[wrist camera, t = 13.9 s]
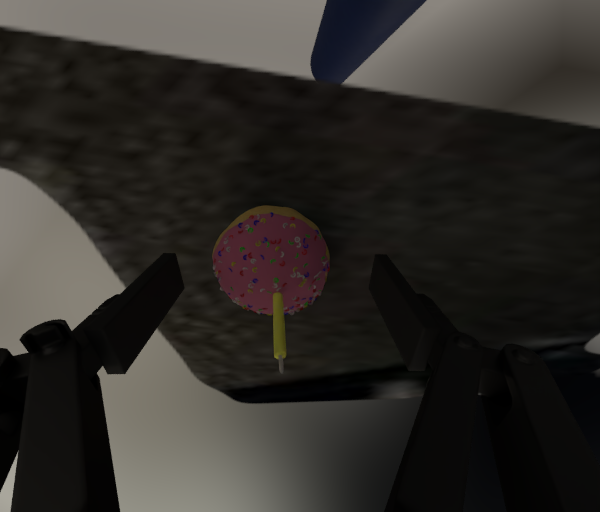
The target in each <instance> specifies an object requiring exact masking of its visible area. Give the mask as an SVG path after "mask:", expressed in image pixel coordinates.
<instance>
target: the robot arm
mask: <svg viewBox="0 0 600 512" xmlns="http://www.w3.org/2000/svg"><path fill="white" fill-rule="evenodd" d="M183 290H184V284H183V280H182V276H181V272H180V269H179V265H178V261H177V257H176V253H163V254H162V255H161V256H160V257H159V258H158V259H157V260H156V261H155V262H154V263H153V264H152V265H151V266H150V267H149V268H147V269H146V270H145V271H144V272H143V273H142V274H141V275H140V276H139V277H138V278H137V279H136V280H135V281H134V282H133V283H131V284H130V285H129V286H128V287H127V288H126V289H125V290H124V291H123V292H122V293H121V294H117V295H114V296H113V297H111V298H109V299H107V300H106V301H105V302H104V303H102V304H101V305H100V306H99V307H98V309H96V310H95V311H94V312H93V313H92V314H91V315H89V316H88V317H87V318H86V319H85V320H84V321H83V322H81V323H80V324H79V325H78V326H77V327H76V328H75V329H74V330H73V331H71V329H70V328H69V326H68V324H67V323H66V321H65V320H61V319H60V320H51V321H47V322H44V323H42V324H39V325H37V326H35V327H33V328H31V329H30V330H28V331H27V332H26V333H24V334H23V335H22V337H21V338H20V341H21V343H22V344H23V345H24V346H25V348H26V349H27V351H28V352H29V353H25V354H21V355H16V356H13V355H12V354H11V353H10V352H9V351H8V349H4V348H0V492H1V489H2V487H3V485H4V482H5V480H6V478H7V475H8V473H9V471H10V468H11V466H12V464H13V462H14V459H15V457H16V454H17V452H18V459H17V467H16V475H15V483H14V490H13V498H12V505H11V512H120V508H119V501H118V495H117V488H116V482H115V475H114V469H113V463H112V456H111V449H110V443H109V437H108V430H107V424H106V417H105V411H104V404H103V398H102V391H101V385H100V378H99V376H98V375H97V372H98V371H99V370H100V368H101V367H102V366H104V368H105V370H106V372H107V374H125V373H126V372H127V370H128V369H129V367H130V366H131V364H132V363H133V362H134V360H135V359H136V357H137V356H138V354H139V353H140V352H141V350H142V349H143V347H144V346H145V344H146V343H147V341H148V340H149V339H150V337H151V336H152V334H153V333H154V331H155V330H156V329H157V327H158V326H159V324H160V323H161V321H162V320H163V318H164V317H165V316H166V314H167V313H168V311H169V310H170V308H171V307H172V305H173V304H174V303H175V301H176V300H177V298H178V297H179V295H180V294H181V292H182V291H183ZM369 290H370V292H371V294H372V296H373V298H374V300H375V302H376V305H377V307H378V309H379V311H380V313H381V315H382V317H383V319H384V321H385V323H386V325H387V327H388V329H389V331H390V333H391V336H392V338H393V340H394V342H395V344H396V346H397V348H398V350H399V352H400V354H401V356H402V358H403V360H404V362H405V364H406V367H407V369H408V371H425V368H426V366H427V363H429V364H430V366H431V368H432V372H431V375H430V377H429V379H428V382H427V384H426V385H427V387H426V390H425V392H424V395H423V398H422V401H421V404H420V407H419V410H418V413H417V416H416V419H415V422H414V425H413V428H412V431H411V434H410V437H409V440H408V443H407V446H406V449H405V452H404V455H403V458H402V461H401V464H400V466H399V470H398V473H397V475H396V479H395V481H394V484H393V487H392V490H391V493H390V496H389V499H388V502H387V505H386V508H385V511H384V512H463V505H464V497H465V489H466V481H467V474H468V465H469V458H470V451H471V443H472V434H473V427H474V420H475V412H476V404H477V396H478V395H481V398H482V402H483V407H484V411H485V416H486V420H487V424H488V429H489V434H490V438H491V443H492V447H493V452H494V456H495V461H496V465H497V470H498V474H499V479H500V483H501V488H502V492H503V496H504V501H505V506H506V510H507V512H600V465H599V463H598V462H597V460H596V458H595V456H594V454H593V452H592V450H591V448H590V446H589V445H588V443H587V441H586V439H585V437H584V435H583V433H582V431H581V430H580V428H579V426H578V424H577V422H576V420H575V418H574V416H573V415H572V413H571V411H570V409H569V407H568V405H567V403H566V401H565V400H564V398H563V396H562V394H561V392H560V390H559V388H558V387H557V385H556V383H555V381H554V379H553V377H552V375H551V373H550V371H549V370H548V368H547V366H546V364H545V362H544V361H543V360H542V359H541V357H539V356H538V355H537V354H536V353H534V352H533V351H531V350H529V349H527V348H525V347H523V346H520V345H516V344H506V345H505V346H504V347H503V349H502V351H499V350H495V349H490V348H486V347H482V346H481V344H480V343H479V342H478V341H477V340H476V339H474V338H473V337H471V336H469V335H467V334H464V333H461V332H458V330H457V329H456V328H455V327H454V326H453V324H452V323H451V322H450V321H449V320H448V318H447V317H446V316H445V315H444V314H443V313H442V311H441V310H440V309H439V308H438V307H437V305H436V304H435V303H434V301H433V300H432V299H430V298H429V297H427V296H426V295H425V294H416V293H415V291H414V290H413V289H412V288H411V286H410V285H409V284H408V282H407V281H406V280H405V278H404V277H403V276H402V274H401V273H400V272H399V270H398V269H397V268H396V266H395V265H394V264H393V263H392V261H391V260H390V259H389V257H388V256H387V255H375V258H374V263H373V268H372V273H371V279H370V284H369ZM18 450H19V451H18Z"/></svg>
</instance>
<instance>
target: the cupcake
mask: <svg viewBox="0 0 600 512" xmlns="http://www.w3.org/2000/svg"><path fill="white" fill-rule="evenodd" d="M212 258H213V269H215V272H214V275H215V273H216V275H215V276H216V277H217V279H218V281H219V283H220V285H221V287H220V290H221V291H225V292H226V293H227V295H228V296H229V297H230V299H232V301H233V302H234V303H237V305H240V306H243V307H242V308H243V309H246V310H248V309H250V310H253V311H254V312H255V313H258V314H267V315H268V316H271V315H272V314H273V329H274V357H275V358H277V359H279V369H280V373H284V368H283V358H285V357H286V340H285V325H284V315H287V314H288V313H290V314H291V313H292V312H293V313H292V314H291V315H293V314H294V311H296V312H299V311H300V310H303V308H306V307H307V305H308V304H309V305H312V304H313V301H314V300H316V297H317V296H318V295H319V296H320V295H321V291H322V290H323V287H324V284H325V281H326V278H327V274H328V271H329V270H330V268H329V251H328V247H327V245H326V242H325V240H324V239H323V237H322V235H321V232H320V230H319V228H318V227H317V226H316V225H315V224H314V223H313V222H311V221H310V220H309V219H307V218H306V217H304V216H303V215H302V214H300V213H299V212H297V211H296V210H294V209H292V208H288V207H277V206H268V205H264V206H259V207H256V208H253V209H250V210H248V211H246V212H245V213H243V214H242V215H240V216H239V217H238V218H236V219H235V220H234V221H233V222H232V223H231V224H230V225H229V226H228V227H227V229H226V230H225V231H223V232H222V233H221V235H220V236H219V238H218V240H217V242H216V244H215V247H214V250H213V255H212ZM311 302H312V303H311ZM302 307H303V308H302ZM301 308H302V309H301ZM297 310H298V311H297ZM269 314H270V315H269Z"/></svg>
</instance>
